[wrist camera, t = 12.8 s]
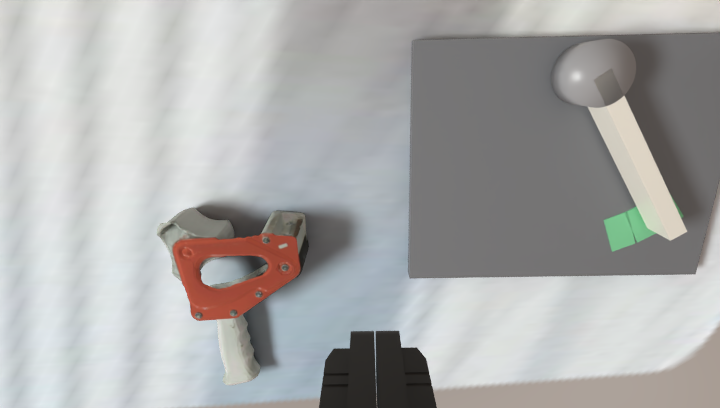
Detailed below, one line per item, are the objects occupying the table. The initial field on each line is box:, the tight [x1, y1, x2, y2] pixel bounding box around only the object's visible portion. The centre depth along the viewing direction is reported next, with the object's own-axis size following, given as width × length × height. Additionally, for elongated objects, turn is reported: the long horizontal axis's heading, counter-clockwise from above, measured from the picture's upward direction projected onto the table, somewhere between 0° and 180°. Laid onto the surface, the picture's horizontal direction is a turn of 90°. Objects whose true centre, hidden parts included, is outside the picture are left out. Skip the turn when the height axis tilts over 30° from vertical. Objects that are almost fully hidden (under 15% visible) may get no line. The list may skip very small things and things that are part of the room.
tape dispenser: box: [157, 208, 309, 385], centre depth 40 cm, size 18×5×20 cm
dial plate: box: [408, 33, 720, 278], centre depth 37 cm, size 22×28×2 cm
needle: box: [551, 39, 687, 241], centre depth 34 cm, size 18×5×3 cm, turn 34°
